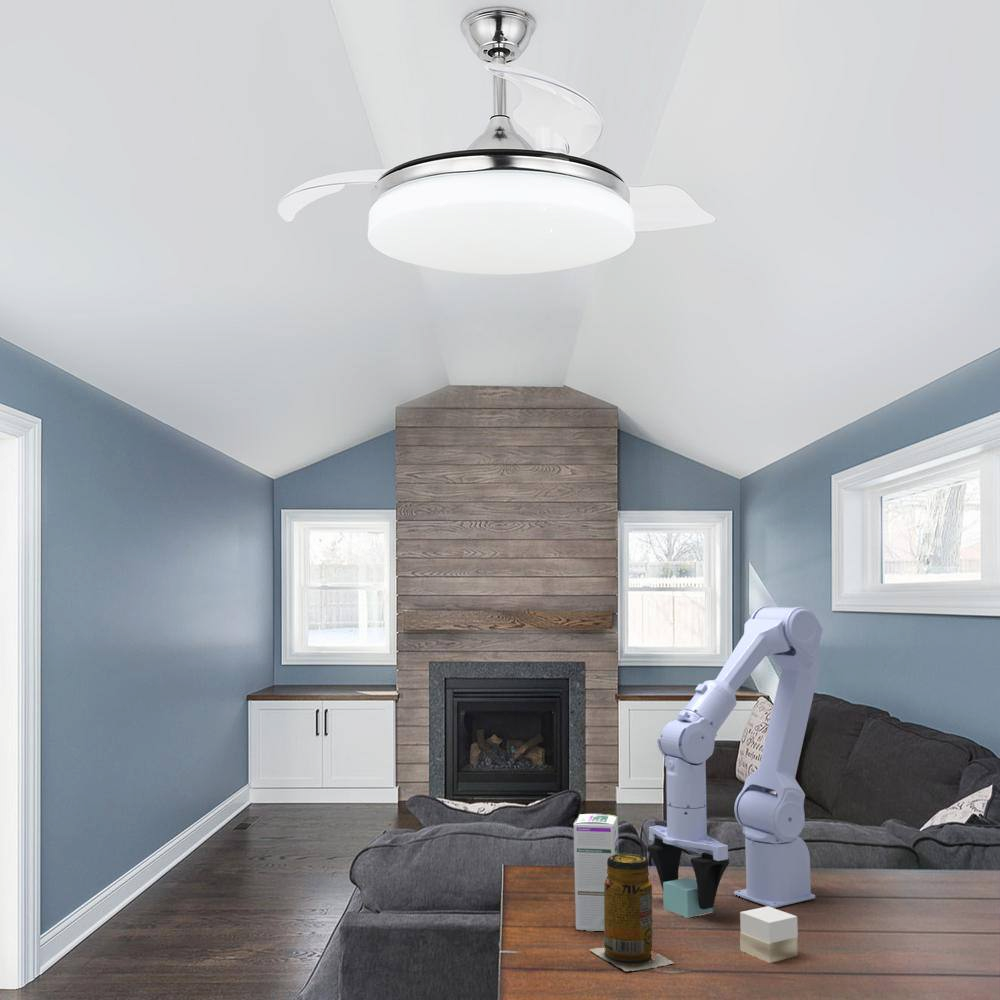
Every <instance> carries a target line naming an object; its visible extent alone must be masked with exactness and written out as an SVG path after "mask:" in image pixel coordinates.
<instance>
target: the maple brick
mask: <svg viewBox="0 0 1000 1000" xmlns="http://www.w3.org/2000/svg"><path fill="white" fill-rule="evenodd" d="M739 946H740V947H739V951H740V950H741V951H740V952H742V951H743V952H742V953H744V952H746V953H748V954H747V955H749V954H750V956H751V955H752V957H754V956H755V957H754V958H756V957H757V958H756V959H759V960H761V961H764V962H766V963H768V964H772V963H775V962H779V961H780V962H781V961H782V960H786V959H787V960H788V959H791V958H794V956H795V957H798V956H797V955H798V937H796V938H791V939H787V940H783V941H779V942H775V943H771V944H769V943H767V942H764V941H761V940H759V939H756V938H754V937H751V936H749V935H746V934H744V933H741V932H739ZM746 953H745V954H746Z"/></svg>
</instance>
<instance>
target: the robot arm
mask: <svg viewBox="0 0 1000 1000" xmlns="http://www.w3.org/2000/svg"><path fill="white" fill-rule="evenodd" d="M816 616H817V615H815V613H814V611H812V610H811V609H810V608H809V607H805V606H795V607H786V606H785V607H779V606H777V607H771V606H767V605H766V606H764V605H763V606H760V607H758V608H756V609H755V610H754V612H752V615H751V616H750V618H749V619H748V620H747V621H745V623H744V626H743V627H744V629H743V631H744V632H743V635H742V636H741V638H740V640H739V641H738V643H737V644H736V646H735V647H734V649H733V651H732V652H731V654H730V656H729V658H728V659H727V660H726V662H725V664H724V666H723V667H722V669H721V670H720V672H719V673H718V674H717V677H716V678H715V679H713V680H712V679H711V680H710V679H709V680H705V681H704V682H703V683H698V685H697V686H696V687H695V689H694V691H695V693H694V695H693V697H692V698H691V699H690V700H689V702H688V703H687V705H686V706H685V707H684V709H683V710H682V709H681V711H679V713H678V715H677V719H674V720H672V721H669V722H668V723H666V725H664V726H663V729H662V730H661V733H660V737H659V738H657V741H656V742H657V748H658V750H659V751H660V753H661V754H662V756H663V759H664V767H665V770H666V771H665V774H666V775H665V776H666V778H665V779H666V780H665V781H666V786H665V787H666V826H663V825H652V826H649V827H648V832H649V835H648V839H649V841H652V842H653V843H652V844H648V845H647V852H648V854H649V855H650V857H651V859H652V861H653V863H654V865H655V868H656V871H657V874H658V877H659V882H660V885H661V889H662V890H661V891H663V882H667V881H672V880H677V879H679V871H680V870H679V868H680V862H681V857H682V853H683V850H687V851H689V852H692V853H697V854H700V855H701V856H699V857H697V856H696V857H692V858H690V864H691V866H692V868H693V872H694V876H695V880H696V881H697V889H698V902H699V907H700V909H703V910H704V909H709V908H713V909H714V906H715V901H716V897H717V892H718V889H719V885H720V881H721V880H722V877H723V875H724V873H725V871H726V870H727V867H728V866H729V865H730V858H729V847H728V844H725V843H722V842H720V841H718V840H716V839H715V838H713V837H711V836H709V835H708V833H707V832H708V831H707V830H708V828H707V827H708V824H707V822H708V820H707V819H708V818H707V773H706V770H707V769H706V761H707V760H708V759H709V758H710V757H711V756H712V755H713V753H714V750H715V740H716V737H717V733H718V731H719V730H720V728H721V727H722V726H723V724H724V722H725V721H726V720H727V718H728V717H729V715H730V714H731V713H732V711H733V710H734V708H735V707H736V705H737V698H736V694H735V693H736V692H737V691H738V690H739V689H740V687H741V686H742V685H743V684H744V682H745V681H746V680H747V679H748V678H749V676H750V675H751V674H752V673H753V672H754V670H755V669H756V668H757V667H758V666H759V664H760V663H761V662H762V661H763V660H764V659H765V657H767V656H770V658H772V659H773V661H775V663H776V664H777V666H778V667H779V670H780V674H779V678H778V684H777V688H776V692H775V696H774V701H773V705H772V710H771V714H770V718H769V722H768V727H767V730H766V731H767V732H766V734H765V735H766V736H765V740H764V745H763V749H762V753H761V757H760V762H759V765H758V768H756V770H755V771H753V772H752V773H751V774H749V775H748V776H747V777H746V778H745V781H744V784H743V788H742V790H741V791H740V792H739V794H738V795H737V797H736V799H735V801H734V807H733V808H734V809H733V811H734V816H735V818H736V821H737V823H738V824H739V825H740V826H741V827H742V834H744V835H745V838H744V840H745V841H744V844H745V845H744V846H745V880H746V881H745V885H746V886H745V887H746V888H744V889H740V890H734V892H733V895H734V896H736V895H737V897H739V896H740V898H743V899H745V900H748V901H751V902H754V903H757V904H760V905H763V906H764V907H766V906H769V907H772V908H774V909H776V908H779V907H784V906H788V905H793V904H796V903H801V902H804V901H809V900H813V899H816V895H815V894H814V893H812V889H811V856H810V851H809V848H808V845H807V844H806V842H805V840H804V839H803V838H801V837H800V834H801V833H802V831H803V829H804V826H805V822H806V821H805V820H806V819H805V818H806V816H805V809H804V808H805V807H804V804H805V798H806V794H805V792H804V790H803V789H802V787H801V786H800V784H799V783H798V781H797V779H796V775H797V771H798V768H799V767H798V766H799V763H800V762H799V761H800V757H801V753H802V748H803V744H804V739H805V735H806V731H807V725H808V722H809V717H810V712H811V708H812V704H813V703H812V702H813V698H814V695H815V689H816V686H817V681H818V676H819V672H820V657H819V656H820V655H819V647H820V643H821V638H822V635H823V629H824V628H823V627H822V625H821V623H820V622H819V619H818V618H817V617H816ZM772 792H775V793H772Z"/></svg>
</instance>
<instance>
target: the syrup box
mask: <svg viewBox="0 0 1000 1000" xmlns="http://www.w3.org/2000/svg"><path fill="white" fill-rule="evenodd" d="M618 819H619V817H618V815H615V814H606V813H584V814H583V813H582V814H581V813H580V814H579V815H578V817H577V818H576V819H575V820H574V822H573V862H574V863H573V865H574V866H573V867H574V909H575V910H574V912H575V913H574V914H575V917H574V918H575V929H576V930H579V931H583V930H586V931H585V932H593V931H604V882H605V879H606V878H607V876H608V874H607V860H608V858H609V857H610V856H612V855H615V854H620V852H619V850H620V849H619V848H620V846H619V820H618Z"/></svg>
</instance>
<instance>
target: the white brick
mask: <svg viewBox="0 0 1000 1000" xmlns="http://www.w3.org/2000/svg"><path fill="white" fill-rule="evenodd" d="M739 918H740V919H739V920H740V923H739V924H740V933H744V934H746V935H749V936H751V937H754V938H756V939H759V940H761V941H764V942H767V943H769V944H771V943H775V942H779V941H783V940H787V939H791V938H796V937H797V938H798V937H799V934H798V933H799V932H798V931H799V930H798V927H799V926H798V916H797V915H794V914H792V913H789V912H785V911H782V910H780V909H776V908H772V907H769V906H762V907H759V908H753V909H748V910H744V911H740V912H739Z"/></svg>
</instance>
